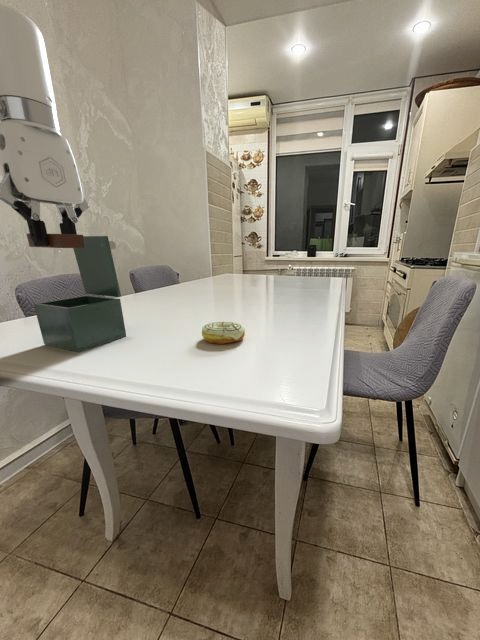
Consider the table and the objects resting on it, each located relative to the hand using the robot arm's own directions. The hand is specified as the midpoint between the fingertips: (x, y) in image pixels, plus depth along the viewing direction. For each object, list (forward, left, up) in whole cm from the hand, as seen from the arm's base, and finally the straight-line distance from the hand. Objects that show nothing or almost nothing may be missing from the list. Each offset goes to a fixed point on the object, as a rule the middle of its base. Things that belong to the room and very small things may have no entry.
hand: (56, 245), depth 51 cm
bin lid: (-12, +15, -5) cm, 20 cm away
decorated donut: (+18, +25, -23) cm, 38 cm away
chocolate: (0, 0, 0) cm, 0 cm away
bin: (-12, +10, -22) cm, 27 cm away
